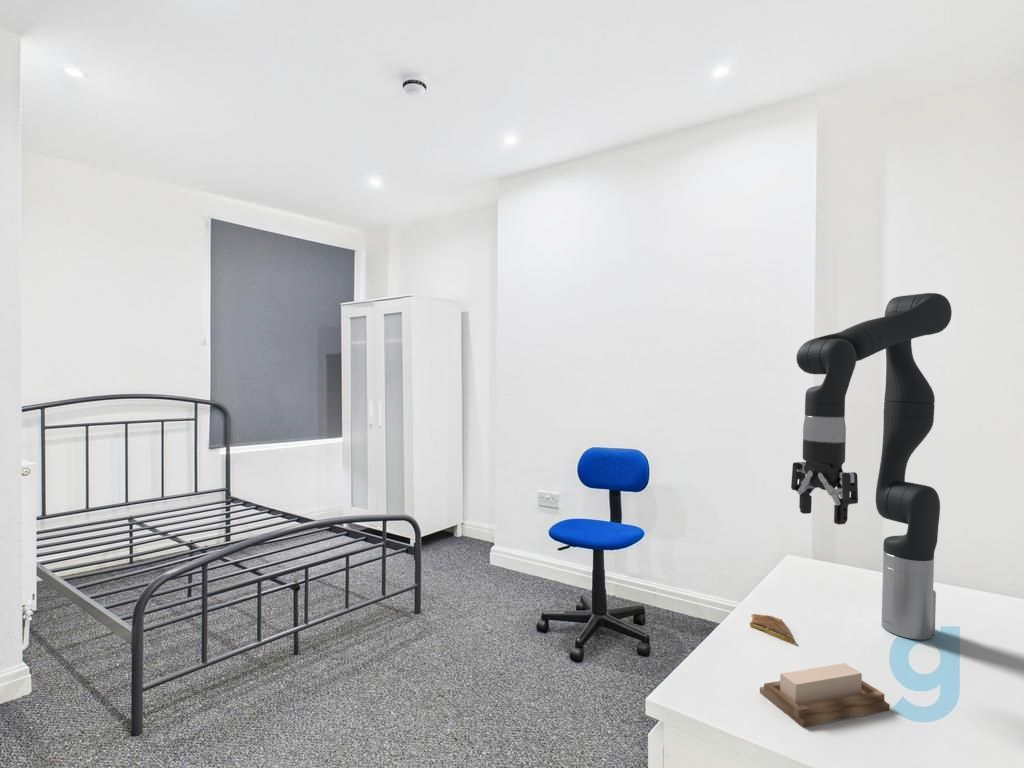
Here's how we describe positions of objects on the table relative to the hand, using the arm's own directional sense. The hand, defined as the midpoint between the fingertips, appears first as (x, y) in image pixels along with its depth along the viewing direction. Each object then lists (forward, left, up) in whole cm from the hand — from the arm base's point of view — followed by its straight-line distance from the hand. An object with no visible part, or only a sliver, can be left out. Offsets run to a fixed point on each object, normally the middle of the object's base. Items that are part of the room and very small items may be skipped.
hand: (822, 518), depth 112 cm
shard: (0, -12, -29) cm, 31 cm away
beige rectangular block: (+13, +13, -27) cm, 33 cm away
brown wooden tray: (+12, +13, -28) cm, 33 cm away
